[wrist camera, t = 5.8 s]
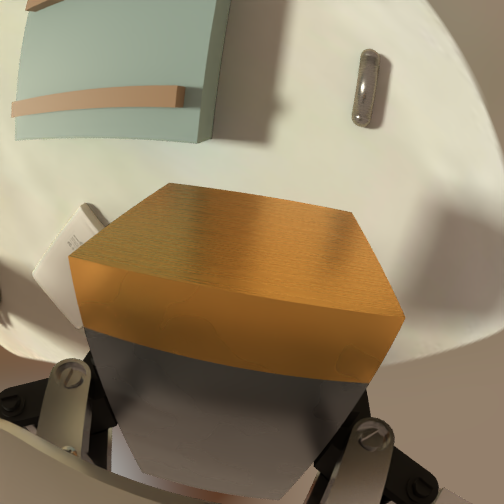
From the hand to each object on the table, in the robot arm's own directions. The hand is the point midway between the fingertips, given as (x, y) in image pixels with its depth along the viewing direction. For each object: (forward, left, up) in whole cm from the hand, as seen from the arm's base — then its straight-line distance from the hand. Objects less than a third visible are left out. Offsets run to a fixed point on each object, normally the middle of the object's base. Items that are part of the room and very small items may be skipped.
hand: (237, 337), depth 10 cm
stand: (+12, +12, -11) cm, 21 cm away
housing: (0, 0, -1) cm, 1 cm away
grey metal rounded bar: (+10, -5, -11) cm, 16 cm away
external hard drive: (-8, +17, -12) cm, 22 cm away
